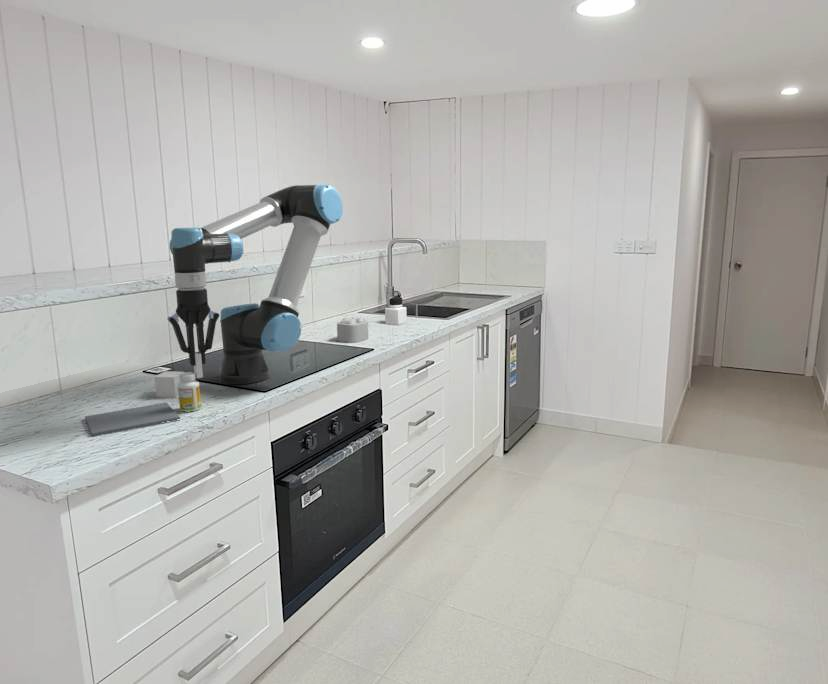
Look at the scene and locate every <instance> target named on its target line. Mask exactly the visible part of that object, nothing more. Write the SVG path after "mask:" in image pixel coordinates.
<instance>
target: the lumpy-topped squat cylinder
mask: <svg viewBox="0 0 828 684" xmlns="http://www.w3.org/2000/svg"><path fill="white" fill-rule="evenodd" d="M336 333H337V335H336V336H337V342H340V343H347V344H357V343H361V342H364V341H368V340H369V321H368V320H367V319H365V317H362V316H361V317H359V316H353V317H352V318H349V317H347V316H345V317H344V318H343V319H342V320H341V321H338V322H337V323H336Z"/></svg>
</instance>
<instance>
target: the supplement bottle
mask: <svg viewBox="0 0 828 684" xmlns="http://www.w3.org/2000/svg"><path fill="white" fill-rule="evenodd" d="M196 379H197V378H196V374H195V373H194V372H191V371H190V372H184V373H182V374H180V381H181V382H180V383H179V384H178V394H179V396H178V403H179V410H180V411H181V412H182V411H185V412H184V413H191V412H190V411H194V412H196V410H197V411H199V410H201V409H202V402H201V401H202V400H201V399H202V398H201V389H200V382H199V381H198V380H196Z"/></svg>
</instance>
